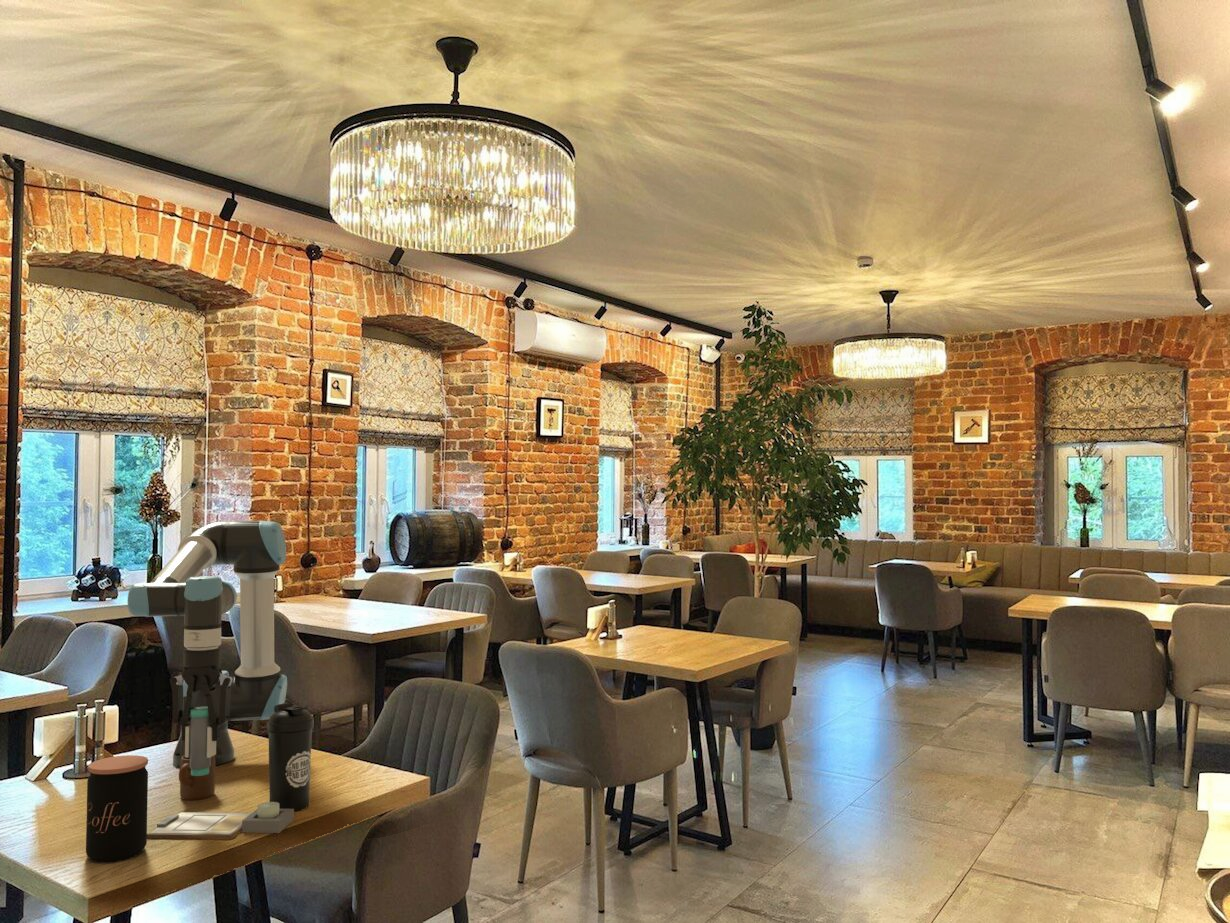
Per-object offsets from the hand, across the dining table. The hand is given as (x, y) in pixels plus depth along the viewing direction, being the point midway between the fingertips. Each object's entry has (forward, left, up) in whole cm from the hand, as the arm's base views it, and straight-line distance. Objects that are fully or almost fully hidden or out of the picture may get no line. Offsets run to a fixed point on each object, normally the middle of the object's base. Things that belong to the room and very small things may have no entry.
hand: (200, 755), depth 206 cm
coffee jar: (+18, -8, -15) cm, 25 cm away
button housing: (+1, +16, -14) cm, 22 cm away
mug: (-17, -10, -15) cm, 24 cm away
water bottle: (-12, +15, -15) cm, 24 cm away
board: (+2, +2, -14) cm, 15 cm away
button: (+1, +16, -13) cm, 21 cm away
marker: (0, 0, -4) cm, 4 cm away
